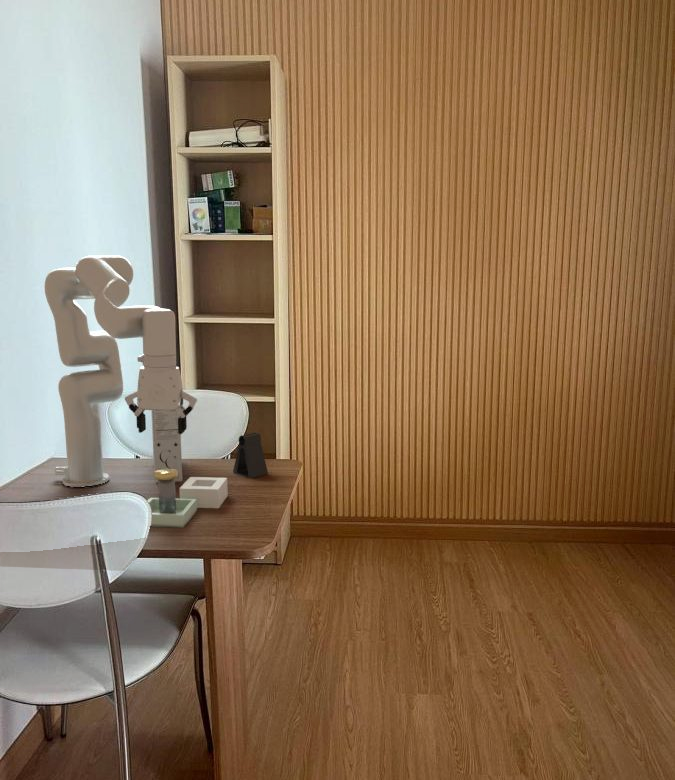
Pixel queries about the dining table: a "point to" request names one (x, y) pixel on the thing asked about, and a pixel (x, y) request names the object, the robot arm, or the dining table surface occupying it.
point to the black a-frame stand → (250, 457)
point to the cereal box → (166, 442)
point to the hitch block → (205, 491)
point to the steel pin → (166, 490)
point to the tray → (180, 519)
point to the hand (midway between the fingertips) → (161, 432)
